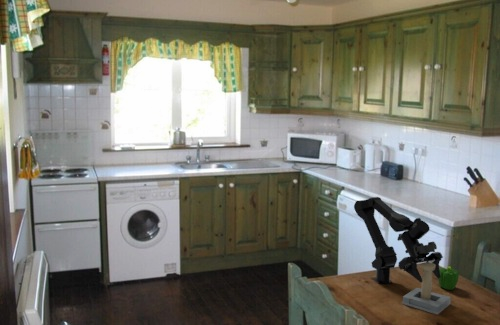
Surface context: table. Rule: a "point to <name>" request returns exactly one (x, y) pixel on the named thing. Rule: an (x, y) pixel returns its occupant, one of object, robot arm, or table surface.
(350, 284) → the table surface
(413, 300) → the block
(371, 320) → the table surface
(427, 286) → the handle
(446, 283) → the bell pepper
